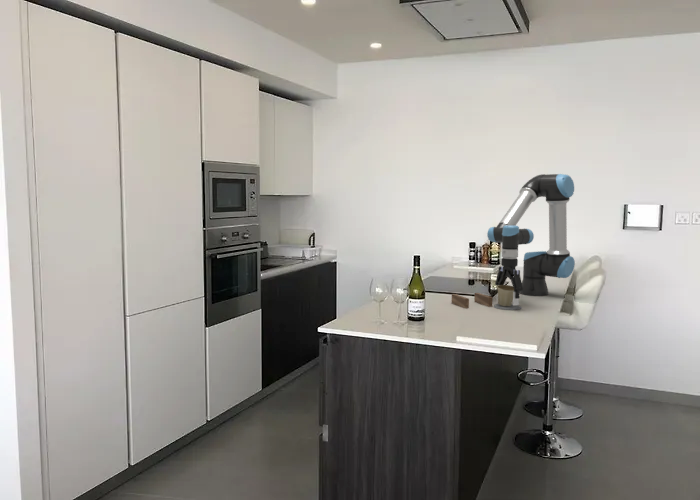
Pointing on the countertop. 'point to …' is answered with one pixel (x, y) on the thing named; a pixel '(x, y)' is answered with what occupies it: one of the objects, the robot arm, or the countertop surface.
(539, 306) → the countertop surface
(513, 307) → the disc
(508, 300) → the flower pot
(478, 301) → the slot holder
